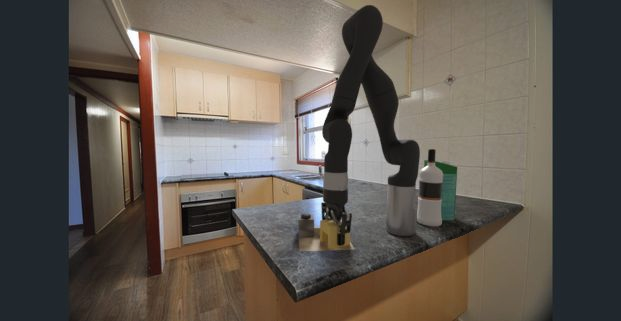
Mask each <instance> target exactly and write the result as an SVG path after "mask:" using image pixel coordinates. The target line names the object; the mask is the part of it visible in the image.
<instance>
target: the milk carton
mask: <svg viewBox="0 0 621 321" xmlns="http://www.w3.org/2000/svg"><path fill="white" fill-rule="evenodd" d="M423 162H424V165H423V166H424V167H426V166H427V165H428V159H424V160H423ZM435 166H436V167H437V168H439V169H440V170H442V172H443V182H442V195H441V200H442V202H441V218H442V221H455V218H456V216H455V212H456V199H457V198H456V196H457V180H458V166H455V165H452V164H451V162H449V161H446V160H440V159H439V160H438V161H437V160H435ZM424 167H423V168H424Z"/></svg>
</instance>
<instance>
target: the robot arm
mask: <svg viewBox="0 0 621 321" xmlns="http://www.w3.org/2000/svg"><path fill="white" fill-rule="evenodd" d="M383 20H384V19H383V16H382V13H381V12H380V10H379V8H378V7H376V6H375V5H372V4H367V5H364V6H362V7H361V8H359V9H357V10H356V11H355V12H354V13H353V14H352V15H351V16H350V17H349V18H347V20H345V21H344V23H343V25H342V27H341V37H342V40H343V44H344V46H345V48H346V50H347V52H348V54H349V55H348V56H349V57H348V59H347V61H346V63H345V65H344V66H343V69H342V70H341V73H340V75H339V76H338V79H337V81H336V85H335V88H334V93H333V95H332V98H331V99H332V100H331V105H330V108H329V110H328V112H327V114H326V116H325V119H324V122H323V125H322V130H321V131H322V132H321V133H322V138H323V139H324V141H325V142H326V143H328V146H327V147H328V148H327V152H326V153H325V155H324V158H323V159H324V161H323V164H324V165H323V166H324V167H323V171H324V172H323V177H322V178H323V180H322V182H323V183H322V184H323V185H322V202H321V203H320V204H321V220H330V219H333V221H334V225H335V226H337V232H338V233H337V245H338V246H342V245H344V244H345V234H346V233H350V234H351V230H352V229H351V228H352V218H353V214H352V212H347V211H346V204H347V203H348V202H349V174H348V171H349V170H348V166H349V165H348V164H349V163H348V159H349V154H350V149H351V146H352V138H353V129H352V126H351V123H350V122H349V121H348V119H349V116H350V115H351V114H352V113H353V112H354V110H355V108H356V104H357V100H358V97H359V92H360V90H361V89H360V88H361V86H362V88H363V92H364V94H365V95H364V96H365V98H366V101H367V104H368V106H369V109H370V112H371V115H372V117H373V121H374V124H375V126H376V130H377V133H378V137H379V142H380V146H381V151H382V154H383V157H384V160H385V161H386V162H387V164H389V165H394V166H399V169H398V172H396V173H395V174H391V175H389V176H388V177H387V188H386V189H387V190H386V191H387V193H386V196H387V197H386V218H385V220H386V222H385V223H386V226H385V230H386V231H387V233H389V234H392V235H395V236H397V237H398V236H399V237H410V236H413V235H417V223H418V222H417V210H418V206H416V205H415V204H416V185H417V179H418V178H419V165H420V159H421V158H420V157H421V149H420V146H419V143H418V142H417V141H416V140H414V139H398V137H397V135H396V130H395V120H396V117H397V114H398V109H399V102H400V101H399V97H398V93H397V90H396V87H395V84H394V82H393V80H392V78H391V77H390V76H389V75H388V74H387V73H386V72H385V71H384V70H383V69H382V68H381V67H380V66H379V65H378V64H377V62H376V60H375V59H374V57H373V52H374V50H375V48H376V45H377V44H378V41H379V39H380V36H381V33H382V30H383V25H384V23H383V22H384V21H383ZM341 219H342V222H337V221H340V220H341ZM340 225H341V229H340ZM346 226H347V229H346Z"/></svg>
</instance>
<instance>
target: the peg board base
mask: <svg viewBox="0 0 621 321" xmlns="http://www.w3.org/2000/svg"><path fill="white" fill-rule="evenodd" d="M297 216H298V217H297V218H298V219H297V224H298V225H297V226H298V227H297V233H298V250H299V252H324V251H325V252H326V251H327V252H328V251H349V250H350V251H351V250H355V251H356V249H355V247H354V245H353V243H352V242H351V241H350V245H347V246H343V247H339V248H335V249H329V248H328V241H326V242H321V241H320V225H315V218H314V213H313V214H311V213H309V212H303V213H301V214H297Z"/></svg>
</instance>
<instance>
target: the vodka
mask: <svg viewBox="0 0 621 321" xmlns="http://www.w3.org/2000/svg"><path fill="white" fill-rule="evenodd" d="M436 152H437V150H436V149H435V148H430V149H428V151H427V160H428V165H427V166H426V167H422V168H421V169H420V170H419V171H418V180H419V181H418V197H417V223H418V224H420V225H423V226H425V227H432V228H433V227H436V228H437V227H440V226H441V225H442V224H443V220H442V218H441V202H442V200H441V195H442V182H443V172H442V170H440V169H439V168H437V167H436V166H435V161H436Z"/></svg>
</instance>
